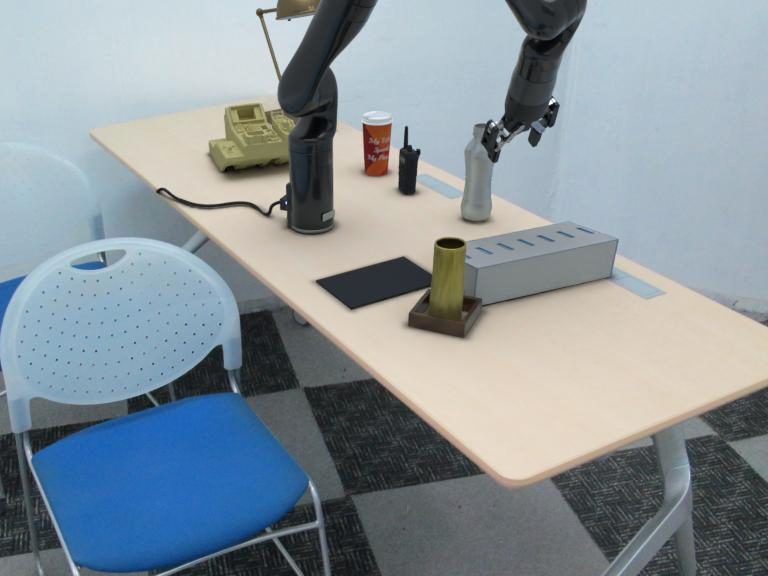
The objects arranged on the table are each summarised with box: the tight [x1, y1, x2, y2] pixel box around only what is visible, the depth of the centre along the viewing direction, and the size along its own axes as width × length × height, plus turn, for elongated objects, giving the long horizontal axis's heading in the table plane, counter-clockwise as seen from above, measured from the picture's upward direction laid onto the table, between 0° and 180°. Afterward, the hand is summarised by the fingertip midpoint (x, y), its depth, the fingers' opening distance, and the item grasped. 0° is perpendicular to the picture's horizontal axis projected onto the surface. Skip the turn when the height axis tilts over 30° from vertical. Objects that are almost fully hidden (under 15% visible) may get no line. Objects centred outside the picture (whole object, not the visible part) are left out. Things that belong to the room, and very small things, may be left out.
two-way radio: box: [397, 125, 422, 195], centre depth 196 cm, size 6×4×15 cm
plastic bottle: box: [459, 122, 495, 222], centre depth 180 cm, size 6×7×20 cm
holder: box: [407, 288, 483, 338], centre depth 149 cm, size 10×10×3 cm
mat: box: [315, 256, 432, 310], centre depth 162 cm, size 20×13×1 cm, turn 118°
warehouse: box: [463, 221, 620, 306], centre depth 160 cm, size 30×14×8 cm, turn 112°
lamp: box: [255, 0, 320, 125], centre depth 241 cm, size 15×34×37 cm, turn 29°
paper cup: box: [360, 110, 394, 177], centre depth 207 cm, size 8×8×14 cm
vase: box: [427, 236, 466, 321], centre depth 146 cm, size 6×6×14 cm
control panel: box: [208, 102, 295, 172], centre depth 217 cm, size 24×16×20 cm
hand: (512, 151), depth 162 cm, fingers open, 8 cm apart
